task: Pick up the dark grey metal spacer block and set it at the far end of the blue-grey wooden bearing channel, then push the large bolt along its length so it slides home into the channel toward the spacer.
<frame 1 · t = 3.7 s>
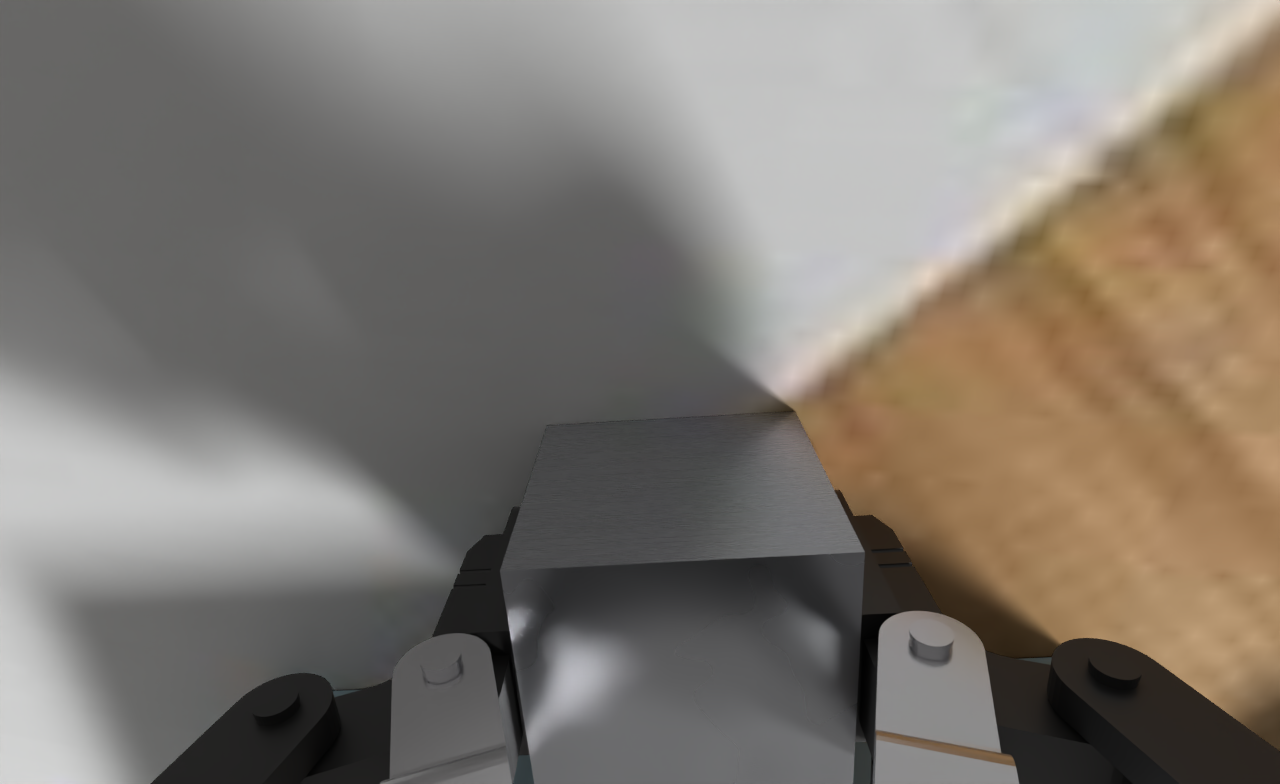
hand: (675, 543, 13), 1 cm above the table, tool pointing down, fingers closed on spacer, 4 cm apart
spacer: (676, 525, 14), on the table, touching gripper
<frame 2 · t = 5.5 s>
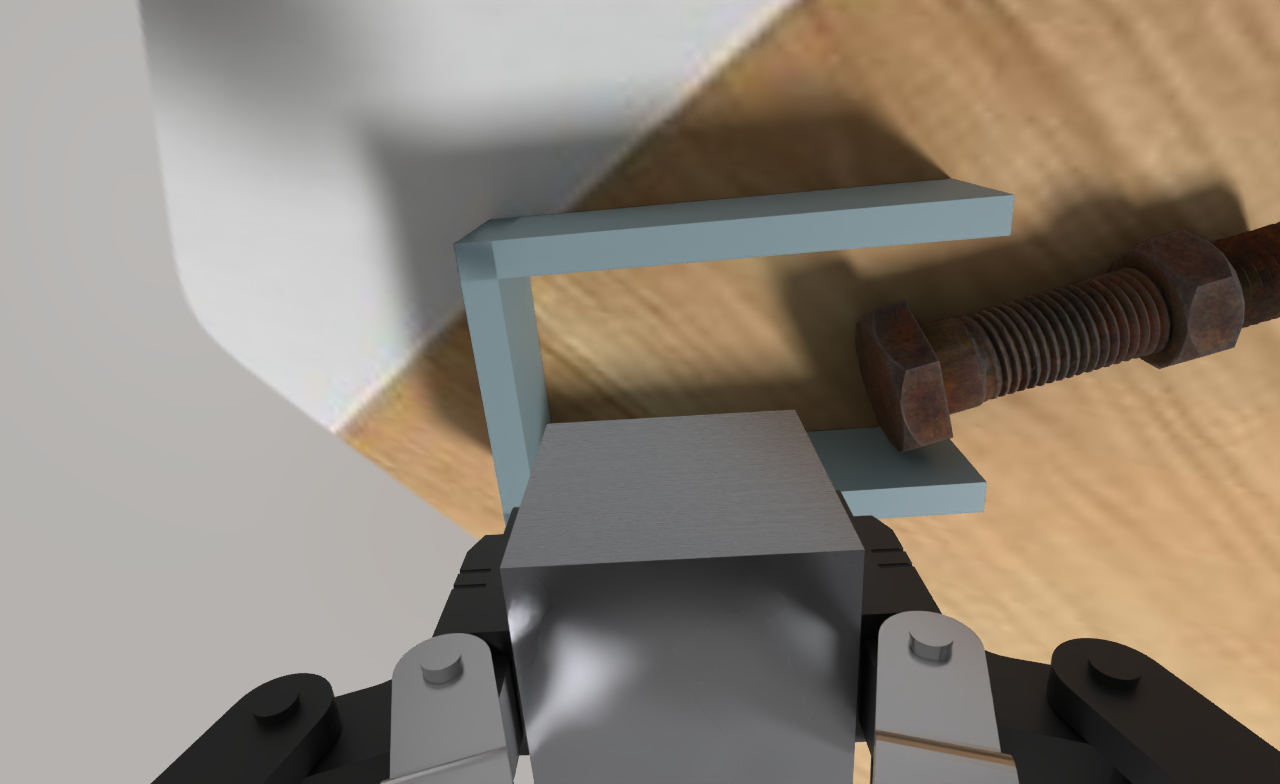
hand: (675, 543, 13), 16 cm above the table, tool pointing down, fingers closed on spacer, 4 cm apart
bolt: (1049, 311, 28), on the table
bearing channel: (723, 340, 29), on the table
spacer: (676, 524, 14), point 15 cm above the table, touching gripper
when the fingers open (2 cm above the table, at t = 7.6 s): spacer drops 1 cm, resting in bearing channel.
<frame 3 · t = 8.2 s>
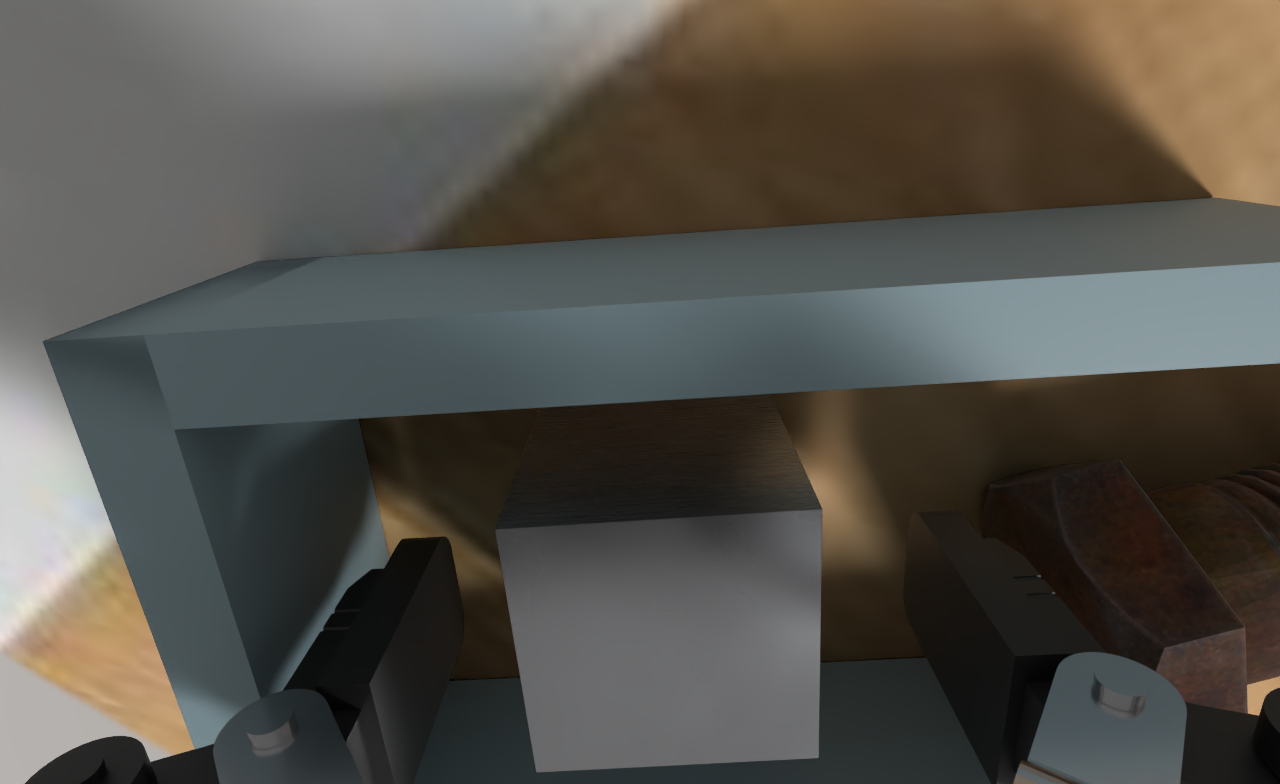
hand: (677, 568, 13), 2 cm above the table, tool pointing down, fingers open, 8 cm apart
bearing channel: (734, 500, 15), on the table
spacer: (661, 500, 15), resting in bearing channel
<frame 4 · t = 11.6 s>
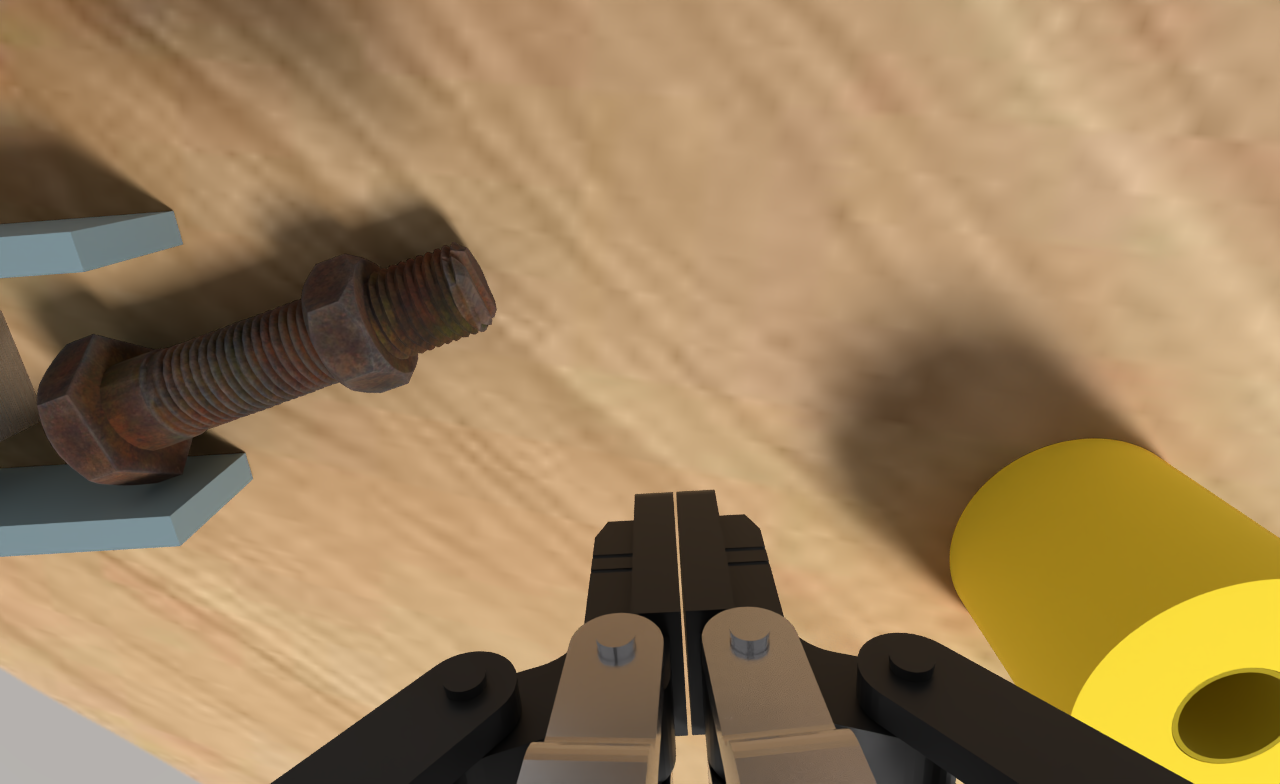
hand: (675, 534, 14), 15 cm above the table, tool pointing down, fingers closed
bolt: (318, 336, 28), on the table
bearing channel: (4, 368, 28), on the table
yellow hollow cylinder: (1066, 542, 31), on the table
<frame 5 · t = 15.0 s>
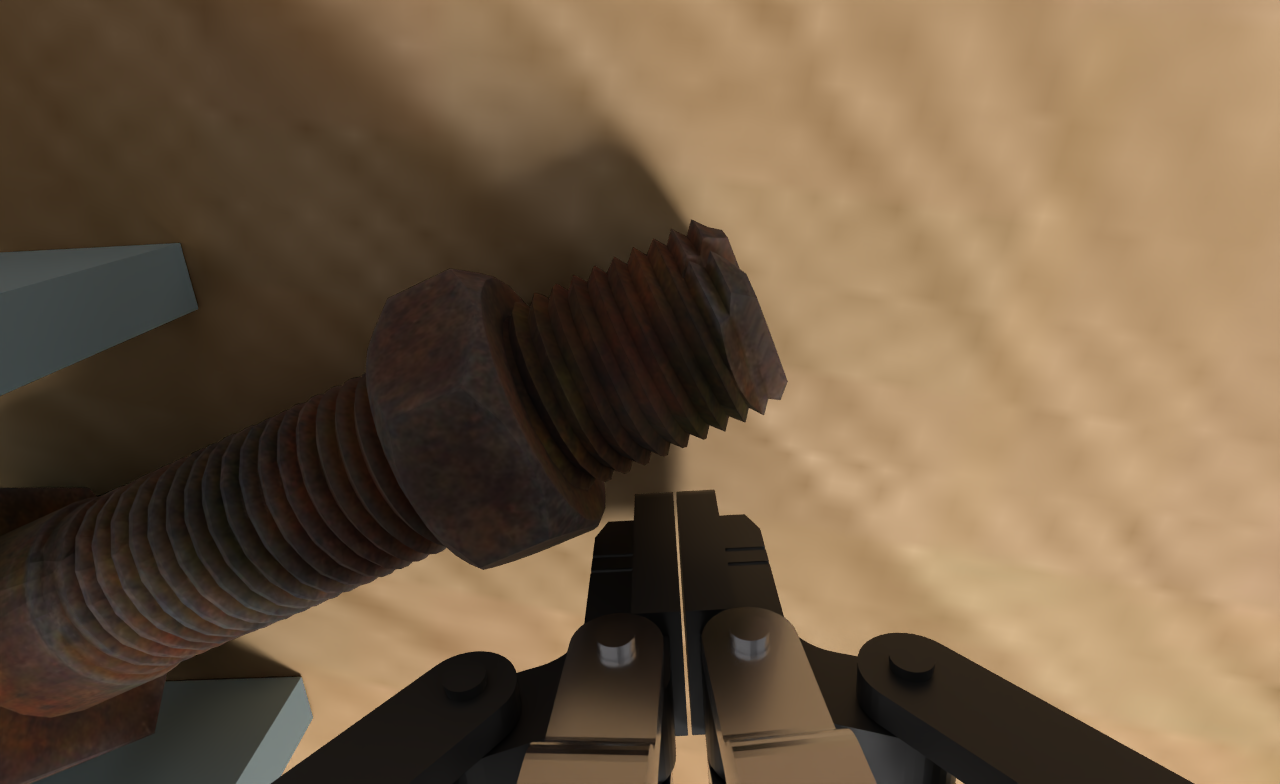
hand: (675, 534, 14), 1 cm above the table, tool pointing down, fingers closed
bolt: (391, 435, 15), on the table, touching gripper
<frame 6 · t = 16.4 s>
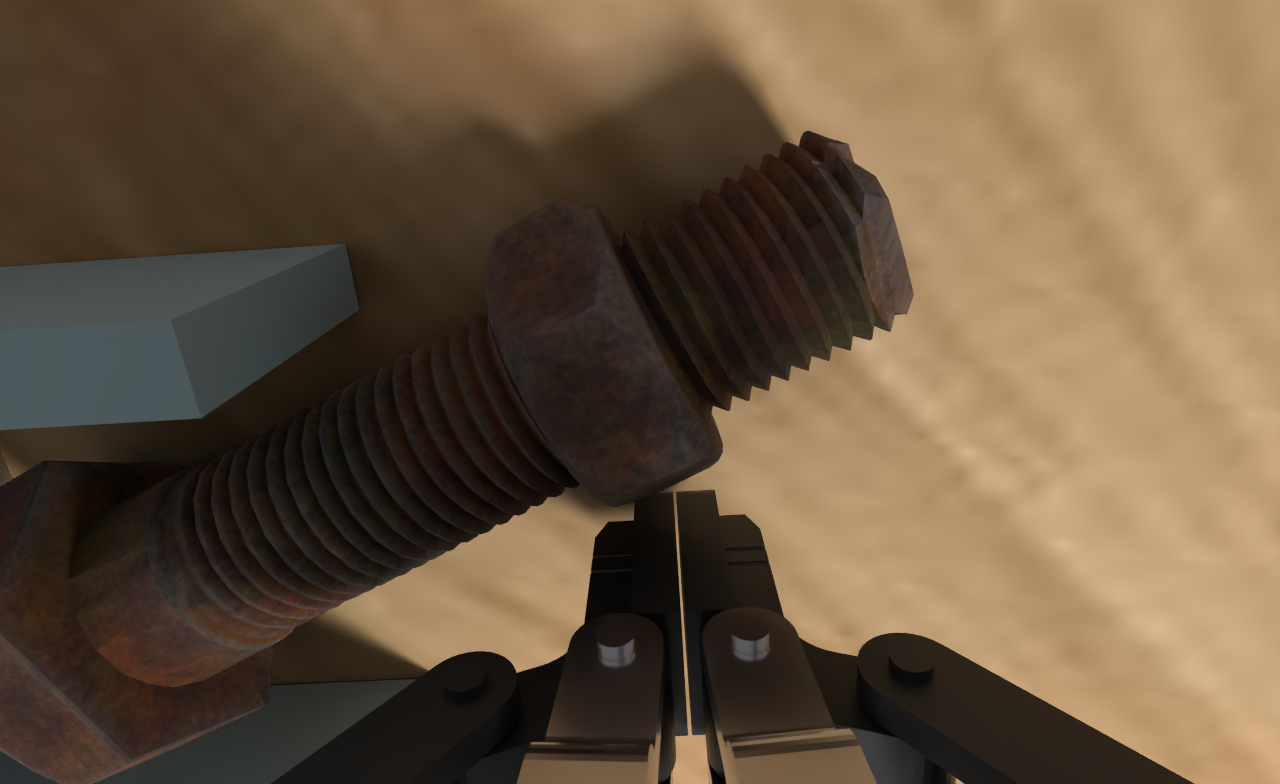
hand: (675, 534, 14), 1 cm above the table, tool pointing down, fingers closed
bolt: (484, 393, 14), on the table, touching bearing channel, gripper
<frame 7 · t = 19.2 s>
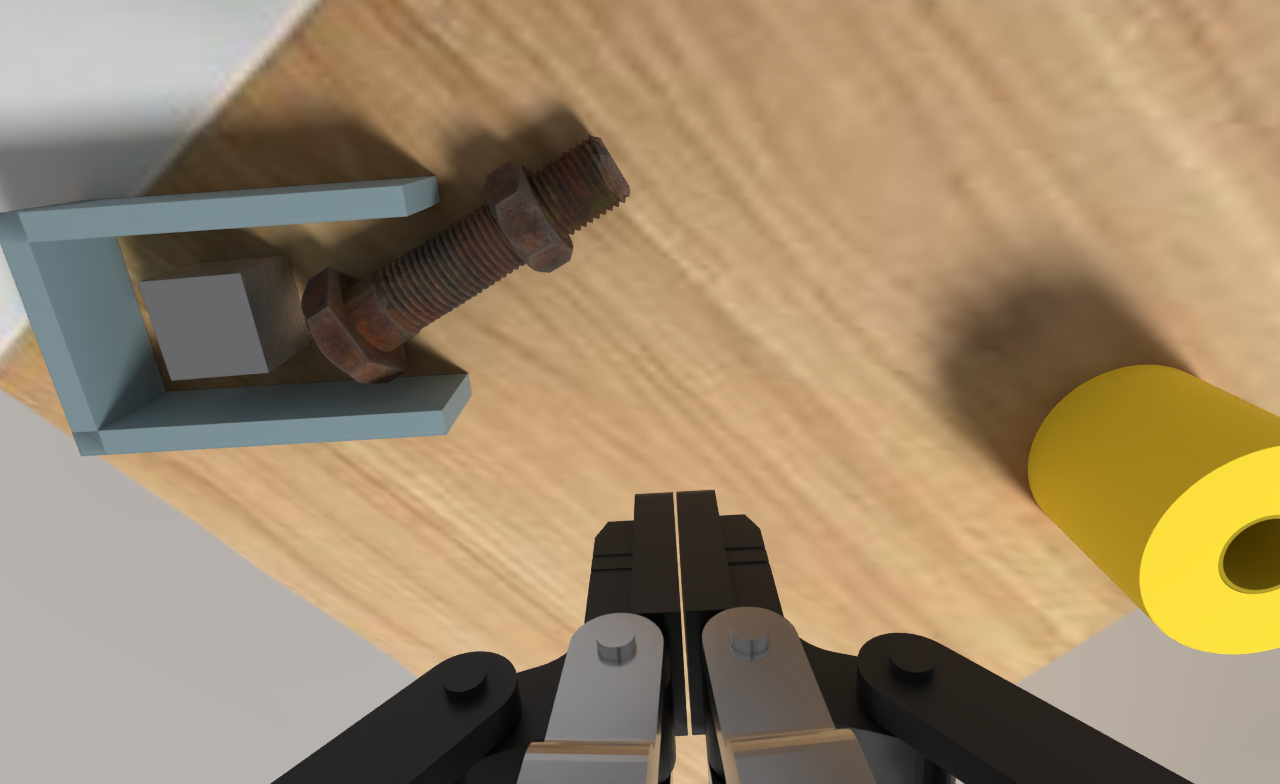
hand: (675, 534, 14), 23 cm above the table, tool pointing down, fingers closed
bolt: (486, 246, 35), on the table
bearing channel: (284, 302, 36), on the table
spacer: (256, 303, 36), resting in bearing channel
yellow hollow cylinder: (1122, 452, 38), on the table
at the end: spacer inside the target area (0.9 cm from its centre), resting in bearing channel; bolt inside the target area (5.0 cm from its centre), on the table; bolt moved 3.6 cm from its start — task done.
